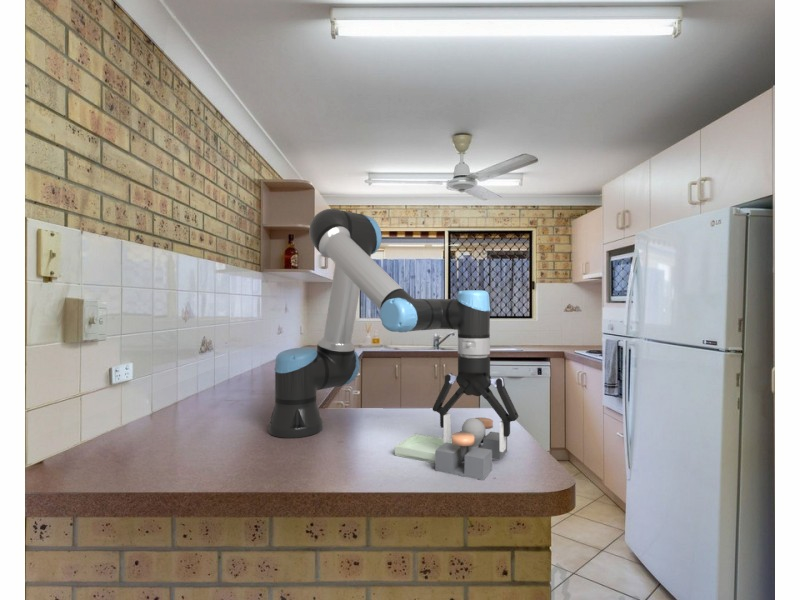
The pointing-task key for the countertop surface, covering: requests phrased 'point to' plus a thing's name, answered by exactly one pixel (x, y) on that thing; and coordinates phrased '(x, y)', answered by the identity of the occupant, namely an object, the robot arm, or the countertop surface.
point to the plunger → (463, 442)
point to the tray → (419, 447)
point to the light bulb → (474, 430)
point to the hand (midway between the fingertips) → (474, 445)
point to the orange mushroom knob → (486, 424)
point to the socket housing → (470, 458)
